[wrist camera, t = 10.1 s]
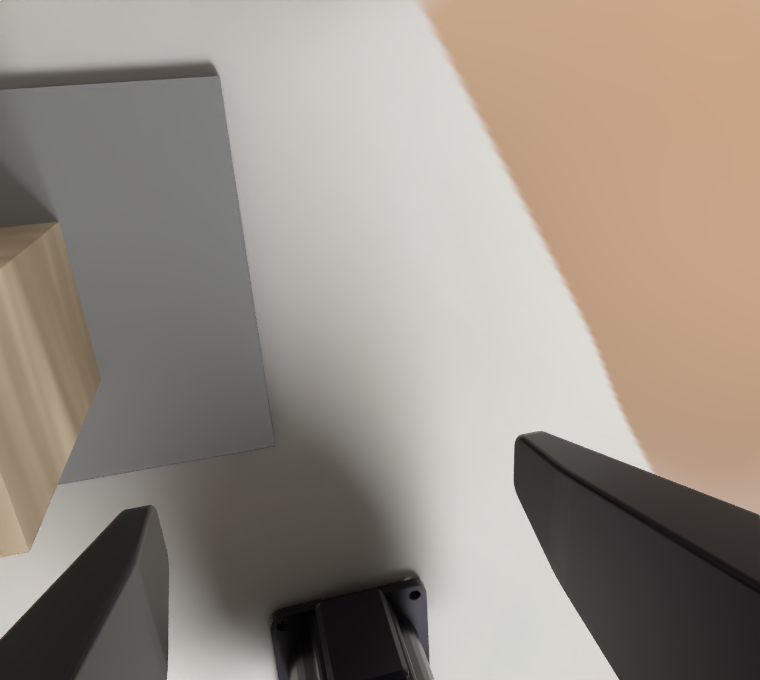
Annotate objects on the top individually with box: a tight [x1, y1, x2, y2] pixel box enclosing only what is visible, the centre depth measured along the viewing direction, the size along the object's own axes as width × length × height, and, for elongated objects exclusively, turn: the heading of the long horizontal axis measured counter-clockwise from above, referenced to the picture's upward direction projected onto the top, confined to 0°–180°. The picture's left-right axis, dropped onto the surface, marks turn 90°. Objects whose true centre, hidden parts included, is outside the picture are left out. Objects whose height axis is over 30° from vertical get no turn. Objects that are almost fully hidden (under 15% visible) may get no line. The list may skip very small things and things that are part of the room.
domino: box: [0, 222, 101, 557], centre depth 15 cm, size 2×5×8 cm, turn 4°
